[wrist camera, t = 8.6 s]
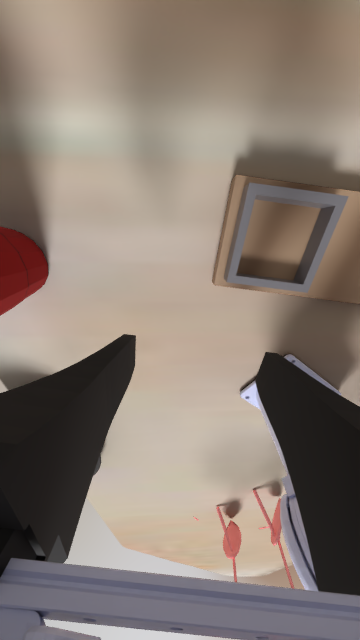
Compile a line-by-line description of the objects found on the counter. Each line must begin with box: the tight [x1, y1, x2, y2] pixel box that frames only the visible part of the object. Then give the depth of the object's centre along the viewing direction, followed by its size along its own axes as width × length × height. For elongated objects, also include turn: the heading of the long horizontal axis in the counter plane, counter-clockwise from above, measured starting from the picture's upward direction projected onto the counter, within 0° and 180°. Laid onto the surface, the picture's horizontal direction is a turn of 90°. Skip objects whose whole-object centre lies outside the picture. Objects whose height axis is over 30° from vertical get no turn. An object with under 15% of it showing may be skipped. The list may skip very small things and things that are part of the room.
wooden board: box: [212, 175, 360, 304], centre depth 16 cm, size 23×8×2 cm, turn 83°
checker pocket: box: [224, 183, 349, 293], centre depth 14 cm, size 7×7×2 cm
